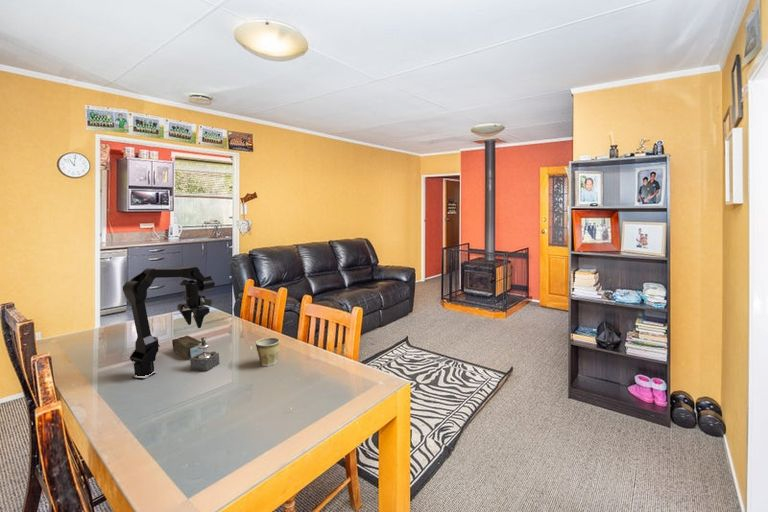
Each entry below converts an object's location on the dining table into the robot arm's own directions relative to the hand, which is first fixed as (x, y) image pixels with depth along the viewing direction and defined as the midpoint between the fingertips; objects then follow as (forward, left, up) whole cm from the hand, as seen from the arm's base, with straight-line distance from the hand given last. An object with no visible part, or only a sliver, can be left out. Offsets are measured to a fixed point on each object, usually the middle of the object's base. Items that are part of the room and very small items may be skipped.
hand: (194, 326), depth 179 cm
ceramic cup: (0, -39, -14) cm, 41 cm away
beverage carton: (+1, +5, -14) cm, 15 cm away
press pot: (-10, -14, -14) cm, 22 cm away
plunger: (-11, -14, -9) cm, 20 cm away
